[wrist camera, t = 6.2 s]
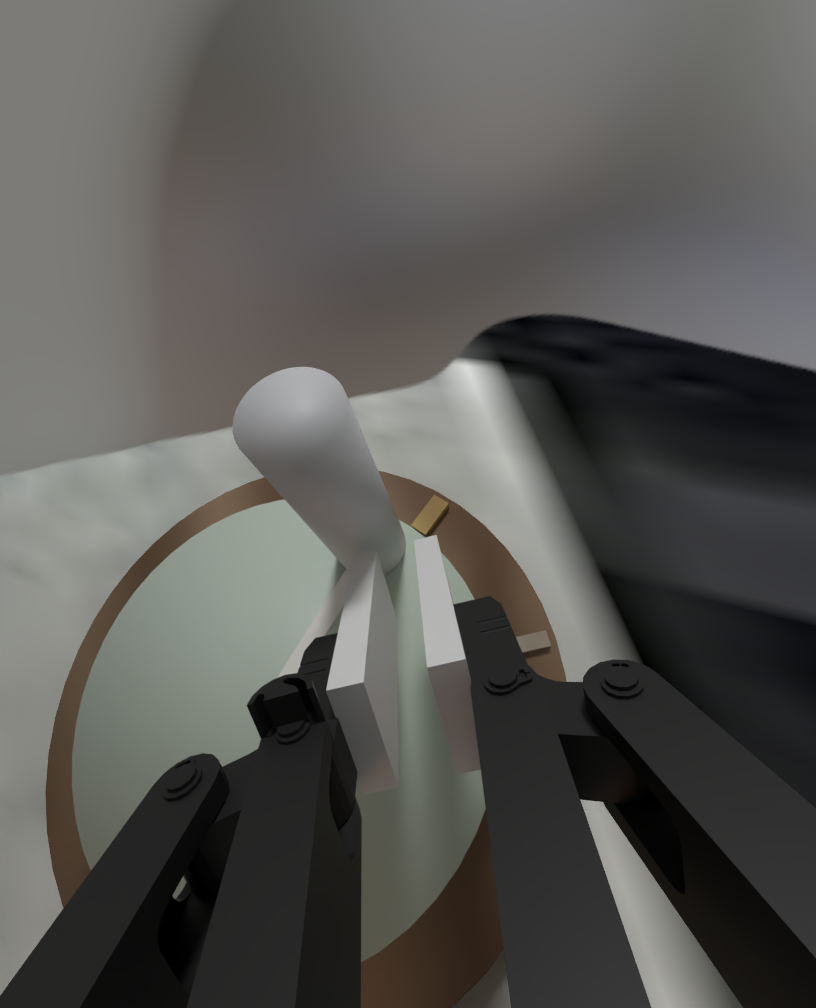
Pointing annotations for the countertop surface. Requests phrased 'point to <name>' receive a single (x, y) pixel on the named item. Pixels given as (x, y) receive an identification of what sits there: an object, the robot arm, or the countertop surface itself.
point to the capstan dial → (278, 650)
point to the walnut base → (472, 890)
